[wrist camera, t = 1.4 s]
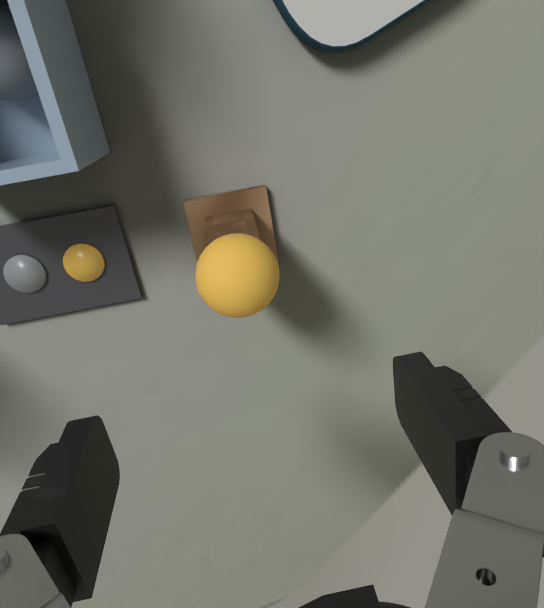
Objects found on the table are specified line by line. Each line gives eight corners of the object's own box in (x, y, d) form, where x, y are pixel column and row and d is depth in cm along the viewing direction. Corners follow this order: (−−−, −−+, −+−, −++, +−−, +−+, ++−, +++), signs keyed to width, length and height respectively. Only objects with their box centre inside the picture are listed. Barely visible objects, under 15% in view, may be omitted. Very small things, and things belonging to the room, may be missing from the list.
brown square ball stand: (265, 184, 29) (276, 206, 24) (278, 262, 31) (291, 298, 26) (183, 200, 29) (175, 225, 24) (201, 276, 31) (198, 316, 26)
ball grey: (46, 6, 24) (16, -9, 20) (73, 93, 26) (49, 93, 22) (-34, 20, 24) (-79, 7, 20) (-2, 106, 26) (-38, 109, 22)
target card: (115, 204, 29) (112, 206, 28) (142, 295, 31) (141, 299, 31) (-37, 232, 29) (-42, 235, 28) (3, 322, 31) (-1, 326, 30)
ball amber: (267, 217, 24) (276, 239, 21) (280, 290, 26) (290, 322, 22) (188, 232, 24) (184, 257, 20) (206, 304, 26) (204, 339, 22)
